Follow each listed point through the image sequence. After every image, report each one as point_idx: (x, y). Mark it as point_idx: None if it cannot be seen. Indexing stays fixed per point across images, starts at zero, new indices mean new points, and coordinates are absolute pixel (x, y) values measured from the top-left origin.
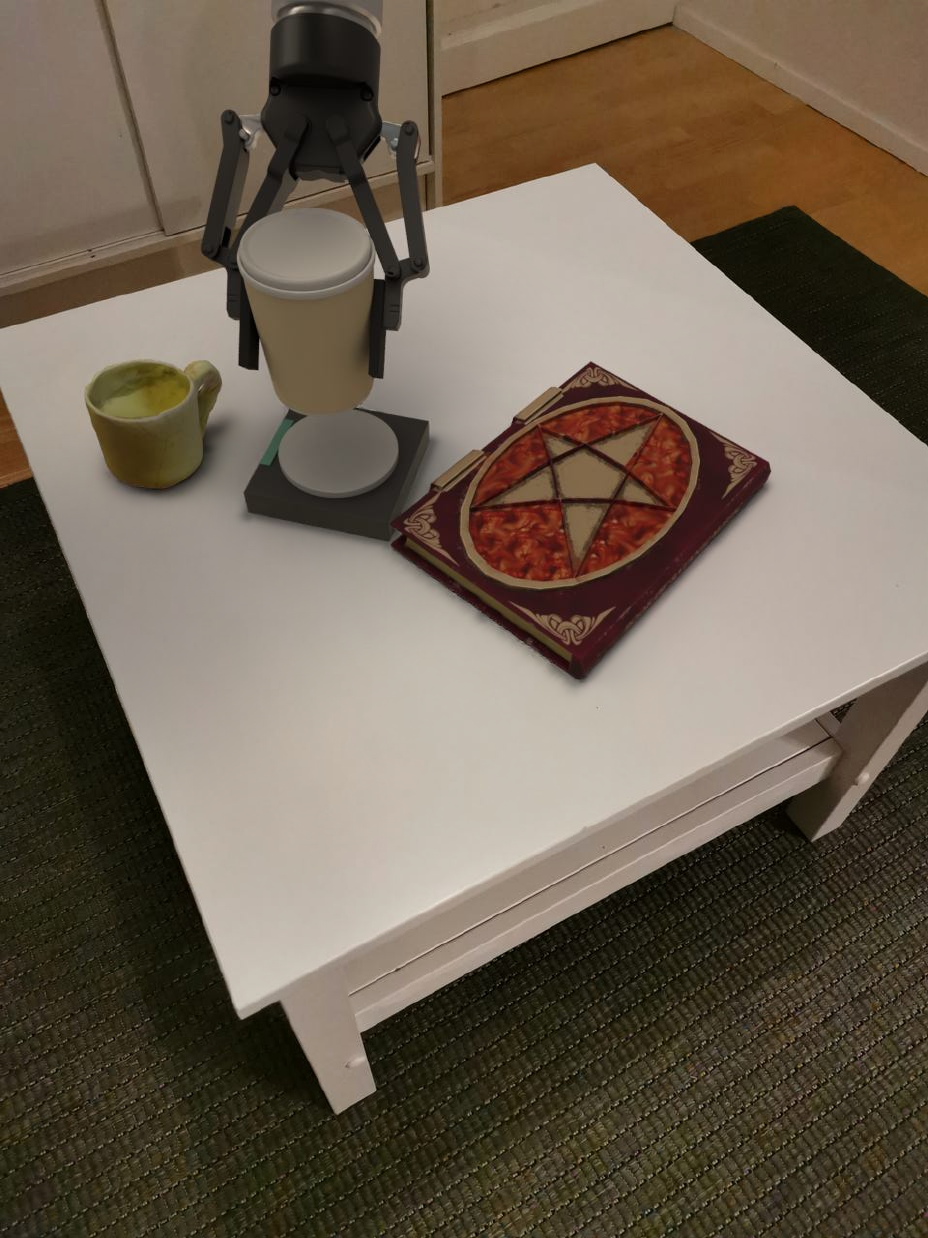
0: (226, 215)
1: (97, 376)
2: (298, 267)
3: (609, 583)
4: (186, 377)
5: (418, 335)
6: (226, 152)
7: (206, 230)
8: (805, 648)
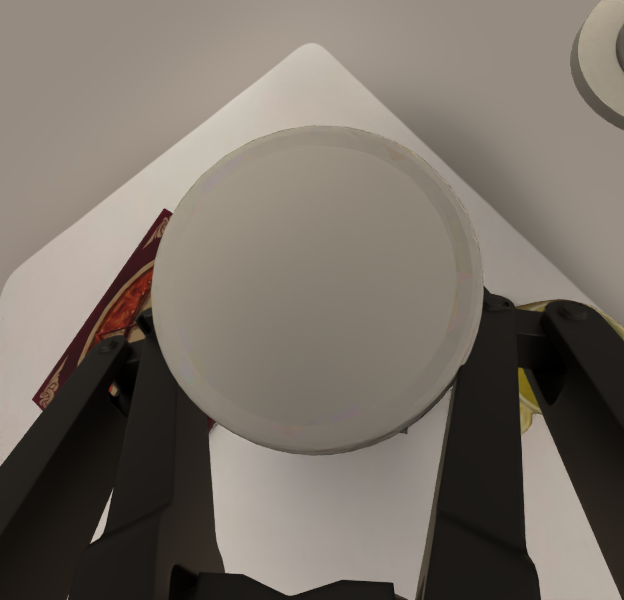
0: (588, 388)
1: None
2: (296, 183)
3: (144, 265)
4: (522, 395)
5: (317, 570)
6: None
7: (617, 341)
8: (60, 264)
